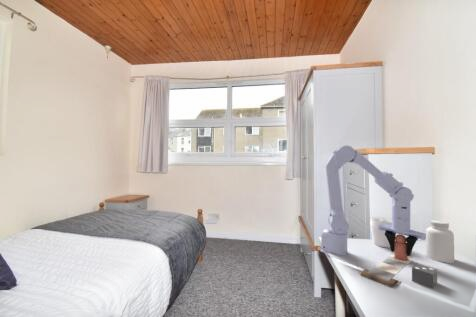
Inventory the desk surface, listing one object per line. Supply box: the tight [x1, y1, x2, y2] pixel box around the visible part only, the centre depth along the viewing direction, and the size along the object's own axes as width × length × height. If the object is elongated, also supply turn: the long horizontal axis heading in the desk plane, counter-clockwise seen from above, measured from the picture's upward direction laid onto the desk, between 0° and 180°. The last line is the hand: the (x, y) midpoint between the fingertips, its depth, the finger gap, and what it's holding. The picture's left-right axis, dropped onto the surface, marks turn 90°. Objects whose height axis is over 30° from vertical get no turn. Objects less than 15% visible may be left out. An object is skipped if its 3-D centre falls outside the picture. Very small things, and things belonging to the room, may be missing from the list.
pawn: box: [393, 234, 408, 261], centre depth 84 cm, size 4×4×9 cm
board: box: [360, 253, 414, 288], centre depth 78 cm, size 9×28×1 cm, turn 128°
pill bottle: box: [425, 219, 455, 264], centre depth 85 cm, size 8×8×15 cm
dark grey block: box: [411, 263, 438, 289], centre depth 68 cm, size 5×5×5 cm
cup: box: [369, 217, 392, 248], centre depth 99 cm, size 9×9×12 cm
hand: (400, 253), depth 84 cm, fingers open, 4 cm apart
